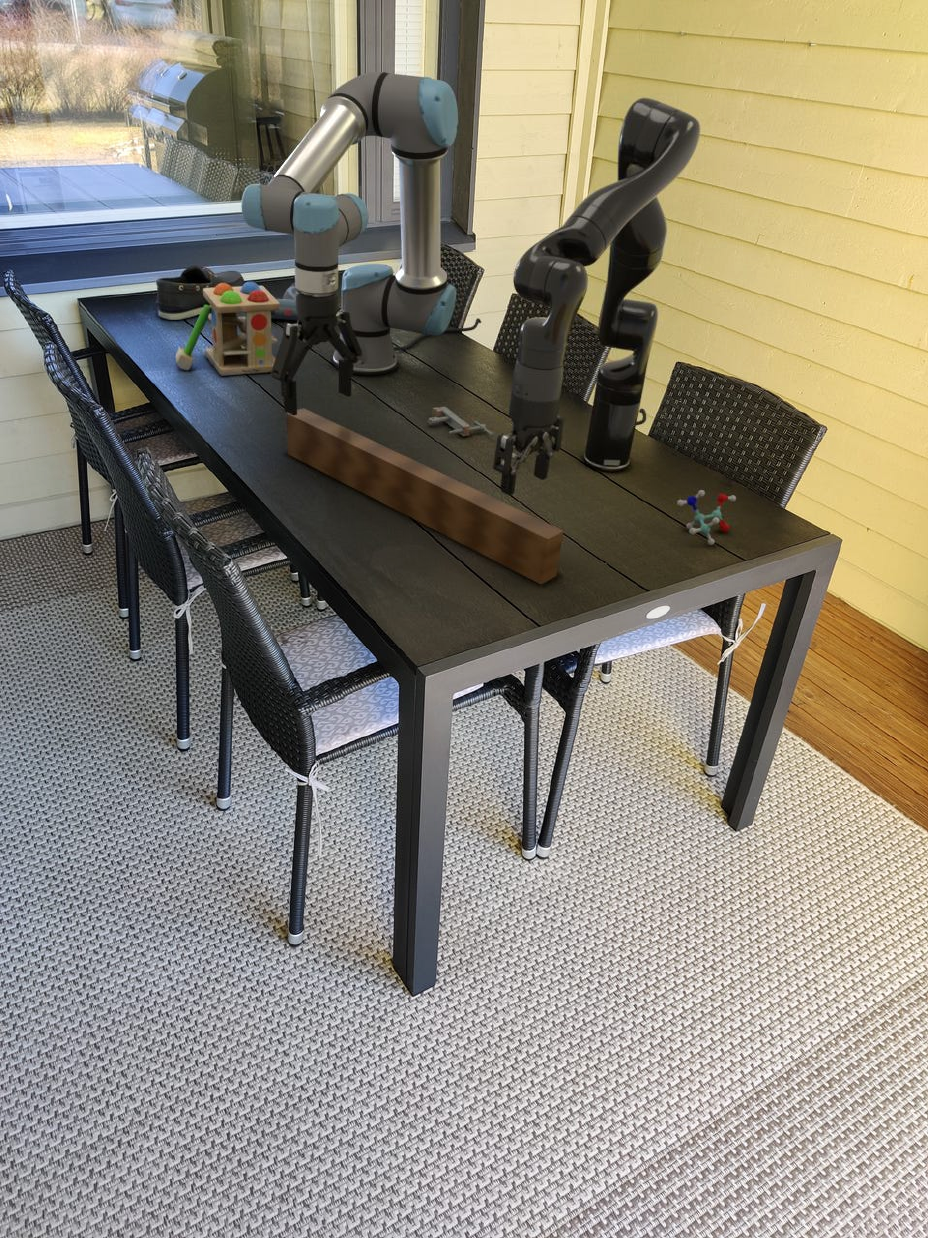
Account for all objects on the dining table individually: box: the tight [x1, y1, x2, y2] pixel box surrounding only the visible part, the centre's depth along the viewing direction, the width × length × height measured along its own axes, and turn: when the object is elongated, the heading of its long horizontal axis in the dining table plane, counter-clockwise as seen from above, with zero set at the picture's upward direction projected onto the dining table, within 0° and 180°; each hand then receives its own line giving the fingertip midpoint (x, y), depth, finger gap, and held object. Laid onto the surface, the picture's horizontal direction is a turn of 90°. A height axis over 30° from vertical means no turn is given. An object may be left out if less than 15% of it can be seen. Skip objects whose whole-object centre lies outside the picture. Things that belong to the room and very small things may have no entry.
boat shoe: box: [155, 264, 246, 321], centre depth 263 cm, size 13×33×10 cm, turn 147°
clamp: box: [428, 406, 495, 438], centre depth 210 cm, size 15×2×10 cm
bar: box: [286, 407, 564, 585], centre depth 176 cm, size 64×4×9 cm, turn 49°
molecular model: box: [676, 489, 737, 546], centre depth 179 cm, size 12×10×10 cm
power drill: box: [271, 282, 299, 322], centre depth 265 cm, size 5×19×20 cm
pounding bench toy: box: [174, 281, 280, 377], centre depth 225 cm, size 23×14×18 cm, turn 116°
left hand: (318, 403), depth 185 cm, fingers open, 13 cm apart
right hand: (524, 485), depth 158 cm, fingers open, 8 cm apart
